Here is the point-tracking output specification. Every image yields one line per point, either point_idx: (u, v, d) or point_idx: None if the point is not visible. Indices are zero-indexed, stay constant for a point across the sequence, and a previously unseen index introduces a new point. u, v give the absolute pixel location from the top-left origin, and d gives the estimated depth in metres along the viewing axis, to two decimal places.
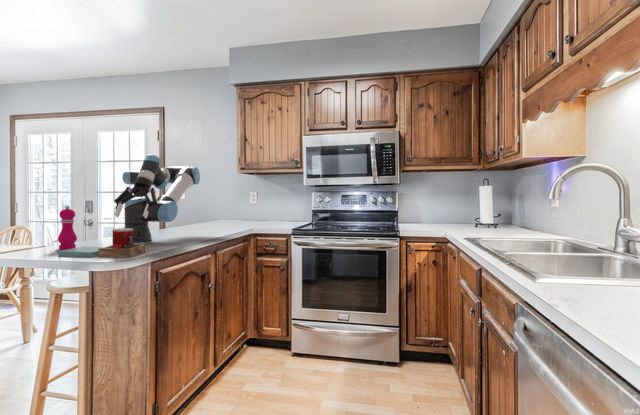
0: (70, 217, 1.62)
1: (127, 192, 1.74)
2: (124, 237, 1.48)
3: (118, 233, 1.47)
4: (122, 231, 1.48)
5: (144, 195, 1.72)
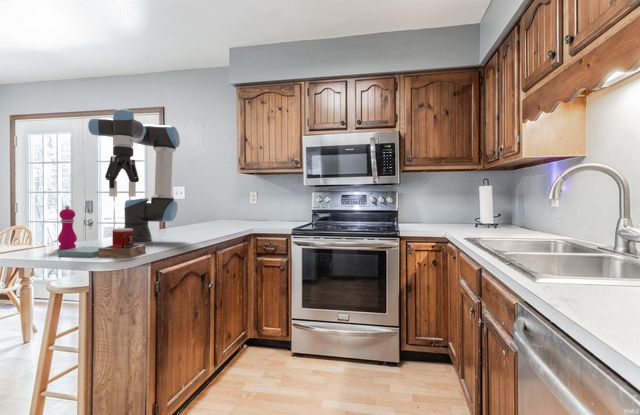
0: (70, 217, 1.62)
1: None
2: (124, 237, 1.48)
3: (118, 233, 1.47)
4: (122, 231, 1.48)
5: (130, 170, 1.54)
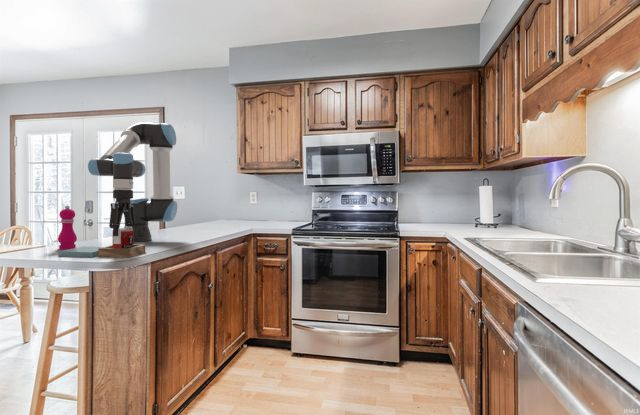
0: (70, 217, 1.62)
1: None
2: (124, 237, 1.48)
3: None
4: (122, 231, 1.48)
5: (129, 213, 1.53)
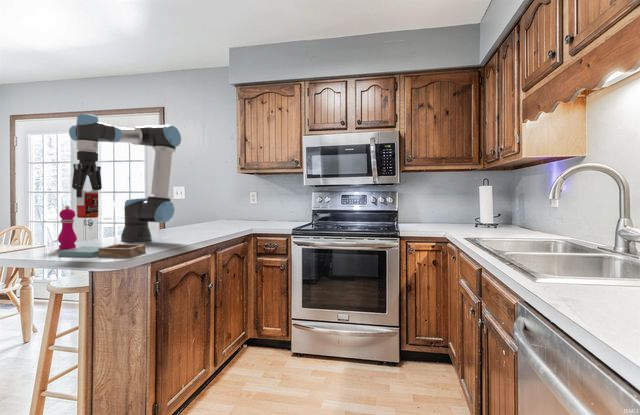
0: (70, 217, 1.62)
1: None
2: (88, 199, 1.47)
3: None
4: (86, 193, 1.47)
5: (94, 176, 1.52)
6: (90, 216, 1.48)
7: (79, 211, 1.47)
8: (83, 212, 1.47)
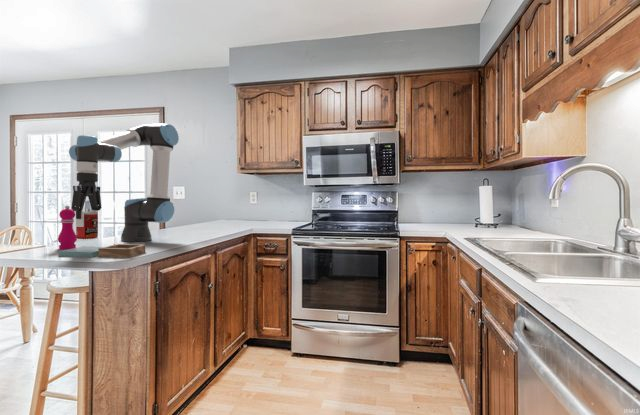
0: (70, 217, 1.62)
1: None
2: (88, 220, 1.47)
3: None
4: (85, 214, 1.47)
5: (93, 196, 1.53)
6: (89, 237, 1.48)
7: (79, 233, 1.47)
8: (82, 233, 1.47)
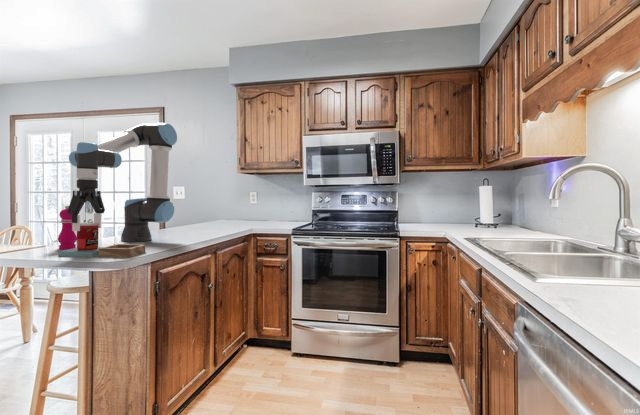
0: (70, 217, 1.62)
1: None
2: (88, 231, 1.48)
3: (82, 227, 1.47)
4: (86, 225, 1.47)
5: (95, 202, 1.54)
6: (90, 248, 1.49)
7: (79, 244, 1.47)
8: (83, 244, 1.47)
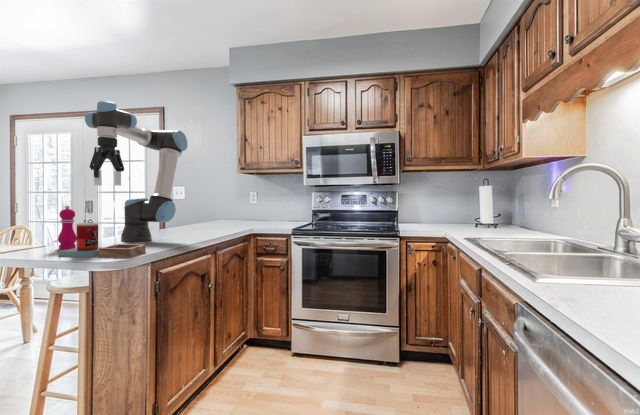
0: (70, 217, 1.62)
1: None
2: (88, 231, 1.48)
3: (81, 227, 1.47)
4: (86, 225, 1.47)
5: (115, 160, 1.60)
6: (90, 248, 1.49)
7: (79, 244, 1.47)
8: (83, 244, 1.47)
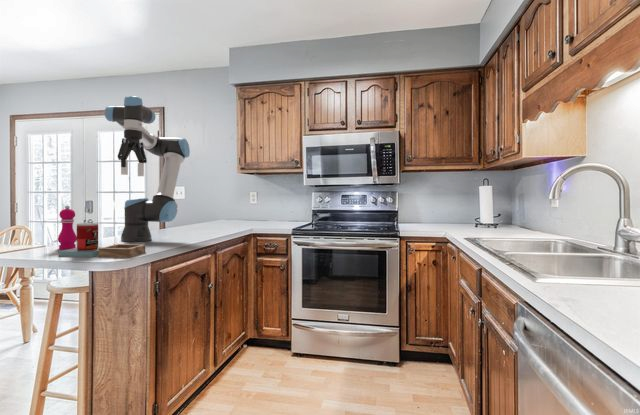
0: (70, 217, 1.62)
1: None
2: (88, 231, 1.48)
3: (81, 227, 1.47)
4: (86, 225, 1.47)
5: (139, 152, 1.70)
6: (90, 248, 1.49)
7: (79, 244, 1.47)
8: (83, 244, 1.47)
